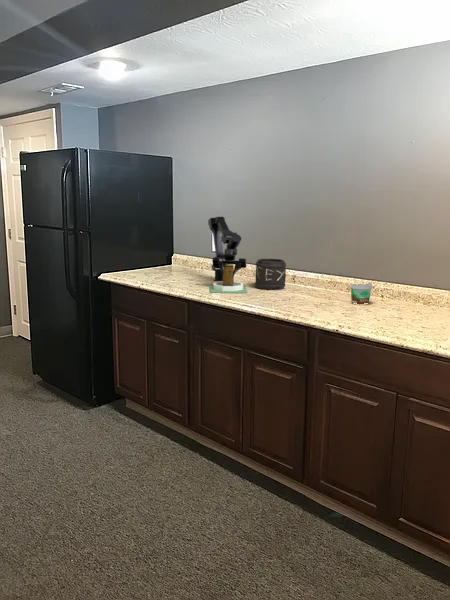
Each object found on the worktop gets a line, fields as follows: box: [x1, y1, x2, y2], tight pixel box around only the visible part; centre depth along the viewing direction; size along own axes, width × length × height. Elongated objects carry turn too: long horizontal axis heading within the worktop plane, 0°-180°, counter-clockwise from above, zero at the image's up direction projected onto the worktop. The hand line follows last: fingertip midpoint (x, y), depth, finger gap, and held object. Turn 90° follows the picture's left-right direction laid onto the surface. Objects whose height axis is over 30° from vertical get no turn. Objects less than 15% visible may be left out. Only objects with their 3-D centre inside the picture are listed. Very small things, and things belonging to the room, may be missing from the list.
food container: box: [349, 282, 374, 304], centre depth 254 cm, size 12×6×10 cm, turn 117°
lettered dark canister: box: [254, 258, 287, 291], centre depth 293 cm, size 18×18×16 cm
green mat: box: [209, 284, 248, 294], centre depth 288 cm, size 22×20×1 cm
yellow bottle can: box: [220, 264, 235, 286], centre depth 286 cm, size 7×8×12 cm
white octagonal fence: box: [213, 281, 244, 291], centre depth 288 cm, size 16×16×2 cm
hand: (227, 274), depth 285 cm, fingers closed on yellow bottle can, 6 cm apart
